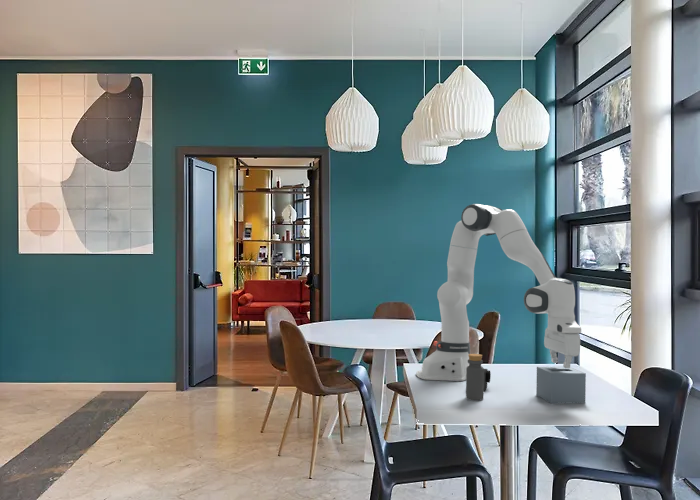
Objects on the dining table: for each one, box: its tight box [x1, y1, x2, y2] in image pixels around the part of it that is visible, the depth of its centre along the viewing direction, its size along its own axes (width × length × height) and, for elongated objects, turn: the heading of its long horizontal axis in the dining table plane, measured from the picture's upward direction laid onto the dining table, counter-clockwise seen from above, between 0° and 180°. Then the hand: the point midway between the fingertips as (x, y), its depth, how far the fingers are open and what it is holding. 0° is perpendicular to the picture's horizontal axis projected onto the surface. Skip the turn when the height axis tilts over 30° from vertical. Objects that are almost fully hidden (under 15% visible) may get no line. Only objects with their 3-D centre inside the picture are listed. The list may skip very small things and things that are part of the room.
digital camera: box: [483, 368, 492, 393], centre depth 215 cm, size 10×5×7 cm, turn 158°
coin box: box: [536, 366, 587, 404], centre depth 202 cm, size 12×12×10 cm
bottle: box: [465, 353, 485, 402], centre depth 200 cm, size 6×6×15 cm
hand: (560, 365), depth 202 cm, fingers open, 8 cm apart
